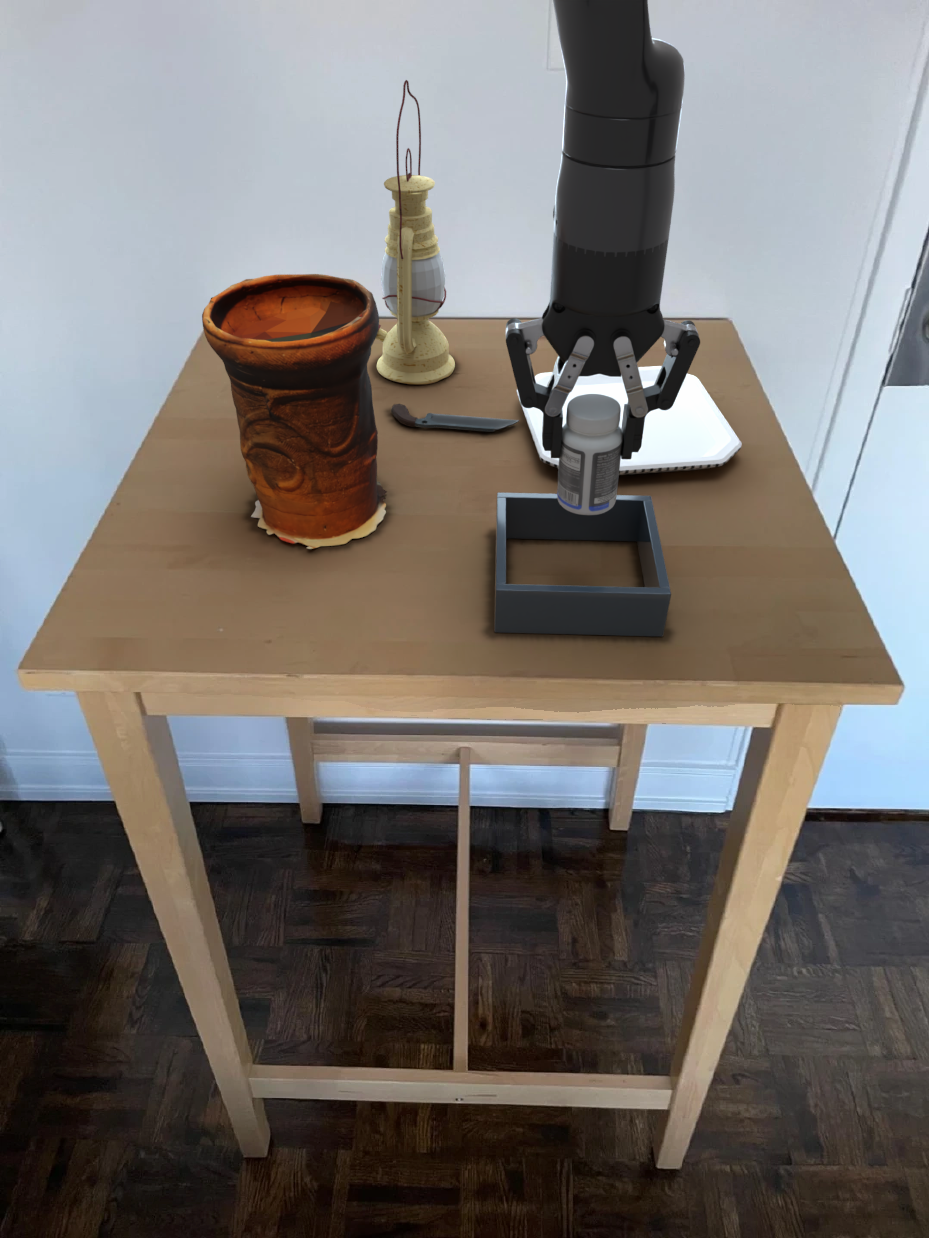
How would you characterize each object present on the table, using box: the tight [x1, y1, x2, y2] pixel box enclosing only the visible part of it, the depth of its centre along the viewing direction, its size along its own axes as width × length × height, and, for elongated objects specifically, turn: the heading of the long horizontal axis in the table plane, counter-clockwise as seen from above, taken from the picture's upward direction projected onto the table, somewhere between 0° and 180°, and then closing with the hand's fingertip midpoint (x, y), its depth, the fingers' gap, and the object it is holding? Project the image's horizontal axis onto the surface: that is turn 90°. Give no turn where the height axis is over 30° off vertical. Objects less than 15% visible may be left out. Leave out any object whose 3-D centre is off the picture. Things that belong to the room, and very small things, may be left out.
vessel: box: [201, 273, 388, 550], centre depth 83 cm, size 14×14×20 cm
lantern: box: [375, 79, 456, 385], centre depth 101 cm, size 12×10×30 cm
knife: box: [390, 403, 520, 433], centre depth 101 cm, size 14×4×1 cm, turn 81°
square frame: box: [493, 492, 672, 638], centre depth 80 cm, size 14×14×4 cm
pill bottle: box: [556, 394, 623, 515], centre depth 73 cm, size 5×5×8 cm
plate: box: [516, 365, 742, 476], centre depth 99 cm, size 21×21×2 cm
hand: (590, 452), depth 73 cm, fingers closed on pill bottle, 4 cm apart
